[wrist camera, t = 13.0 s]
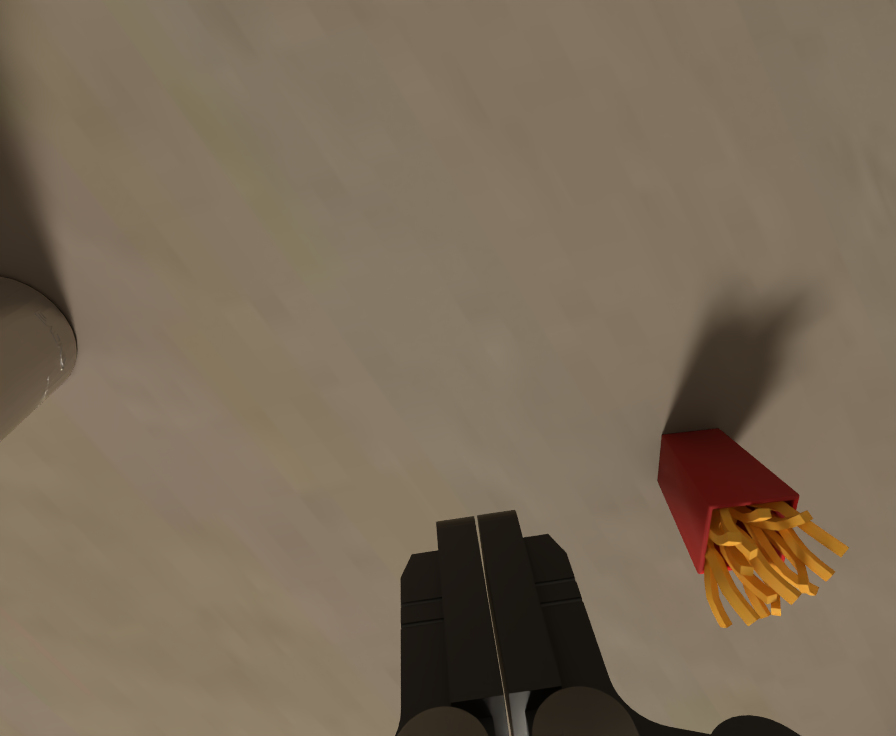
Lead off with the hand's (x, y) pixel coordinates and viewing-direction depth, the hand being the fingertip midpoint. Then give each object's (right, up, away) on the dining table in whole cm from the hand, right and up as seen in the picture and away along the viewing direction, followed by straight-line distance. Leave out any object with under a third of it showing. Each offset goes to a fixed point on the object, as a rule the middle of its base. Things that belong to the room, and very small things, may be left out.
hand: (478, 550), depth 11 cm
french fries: (+21, -5, +40) cm, 45 cm away
